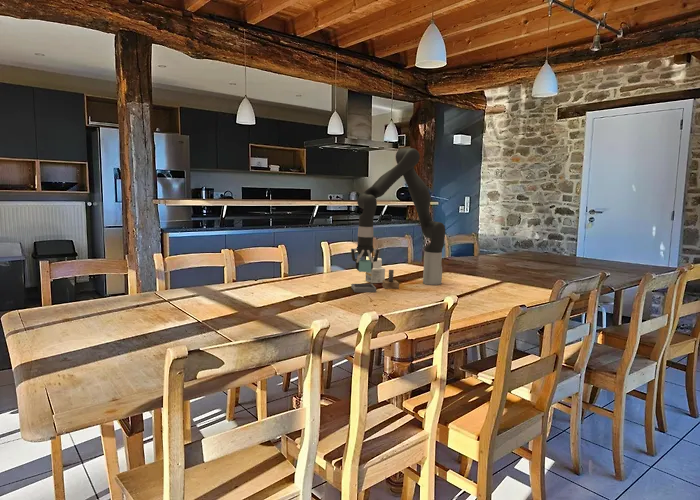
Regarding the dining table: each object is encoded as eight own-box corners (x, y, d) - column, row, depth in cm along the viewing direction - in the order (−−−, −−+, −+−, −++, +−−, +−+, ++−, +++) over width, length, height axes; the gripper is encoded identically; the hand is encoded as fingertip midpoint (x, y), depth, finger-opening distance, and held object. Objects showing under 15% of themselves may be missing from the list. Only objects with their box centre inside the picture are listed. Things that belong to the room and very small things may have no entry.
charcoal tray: (371, 287, 243) (372, 283, 242) (376, 292, 232) (376, 288, 232) (351, 287, 241) (351, 283, 241) (354, 292, 231) (354, 288, 230)
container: (365, 280, 260) (366, 256, 258) (377, 279, 263) (378, 256, 262) (371, 283, 253) (372, 259, 251) (384, 282, 256) (385, 258, 255)
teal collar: (370, 271, 233) (371, 261, 232) (359, 271, 232) (359, 261, 231) (368, 269, 239) (369, 259, 238) (357, 269, 238) (357, 259, 237)
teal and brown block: (395, 286, 248) (396, 268, 247) (398, 288, 241) (399, 271, 240) (382, 286, 247) (383, 268, 246) (385, 288, 240) (386, 271, 239)
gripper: (352, 236, 228) (350, 271, 230) (381, 236, 230) (380, 271, 233) (349, 234, 236) (348, 268, 238) (378, 235, 238) (376, 268, 240)
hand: (364, 269), depth 235 cm, fingers closed on teal collar, 5 cm apart
